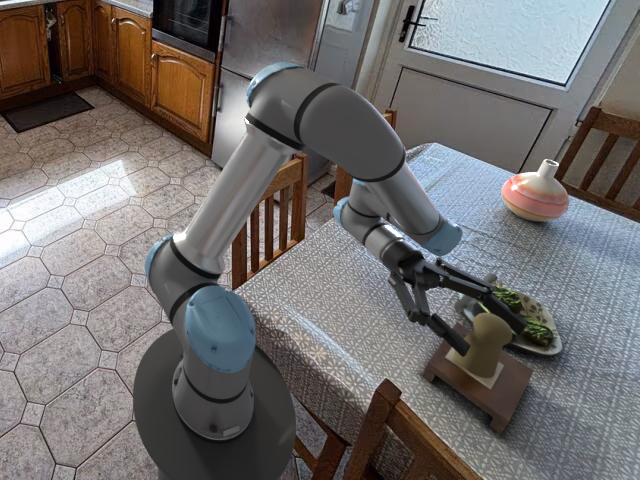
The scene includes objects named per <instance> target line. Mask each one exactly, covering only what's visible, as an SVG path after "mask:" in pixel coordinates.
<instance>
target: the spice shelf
mask: <svg viewBox="0 0 640 480" xmlns="http://www.w3.org/2000/svg"><path fill="white" fill-rule="evenodd" d="M452 329H453V330H454V331H456V332H457V333H458V334H459V335H460V336H461V337H462V338H463V339H464V338H465V337H466V336H467V335H468V334H469V333H470V332H471V331H472V329H471V328H470V329H469V328H468V327H467V326H465V325H464V324H462V323H460V322H459V321H456V322H455V324H454V325H453V327H452ZM534 371H535V370H534V369H532V368H531V367H529V366H528V365H526V364H524V363H523V362H521V361H520V360H518V359H517V358H515V357H514V356H512V355H510V354H509V353H507V352H506V351H505V350H503V349H502V351H501V354H500V358H499V361H498V365H497V368H496V372H495V375H494V376H493V377H491V378H482V377H479V376H476V375H474V374H472V373H471V372H469V371H468V370H466V369H465V368H464V367H463V366H462V365H461V364H460V363H459V362H458V360H457V358H456V356H455V349H454V348H453V347H452V346H451V345H450V344H448V343H447V342H446V341H445V340H444V339H443V341H442V342H441V344H440V345H439V347H438V348H437V349H436V350H435V352H434V354H433V355H432V356H431V358H430V359H429V360H428V362H427V364H426V366H425V368H424V370H423V372H422V374H421V376H422V377H423V378H425V379H426V380H427V381H429V382H430V383H432V382H433V381H434V379H435V378H436V377H438V378H439V379H441V380H442V381H444V382H445V383H446V384H447V385H448V386H451V388H453V389H455V390H456V391H457V392H458V393H460V394H461V395H462V396H464V397H465V398H466V399H468V400H469V401H471V402H472V404H474V405H476V406H477V407H478V408H480V409H481V410H482V411H484V412H485V413H486V414H488V415H489V416H491V417H492V419H491V421H490V423H489V425H488V427H489V428H490V429H491V430H493V431H495V432H496V433H497V434H498V435H501V434H502V433H503V431H504V430H505V429H506V427H507V426H508V424H509V422H510V421H511V419H512V416H513V415H514V414H515V413H514V412H515V411H516V408H517V406H518V405H519V402H520V400H521V398H522V396H523V395H524V393H525V390H526V389H527V386H528V384H529V382H530V379H531V378H532V376H533V375H534Z"/></svg>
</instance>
